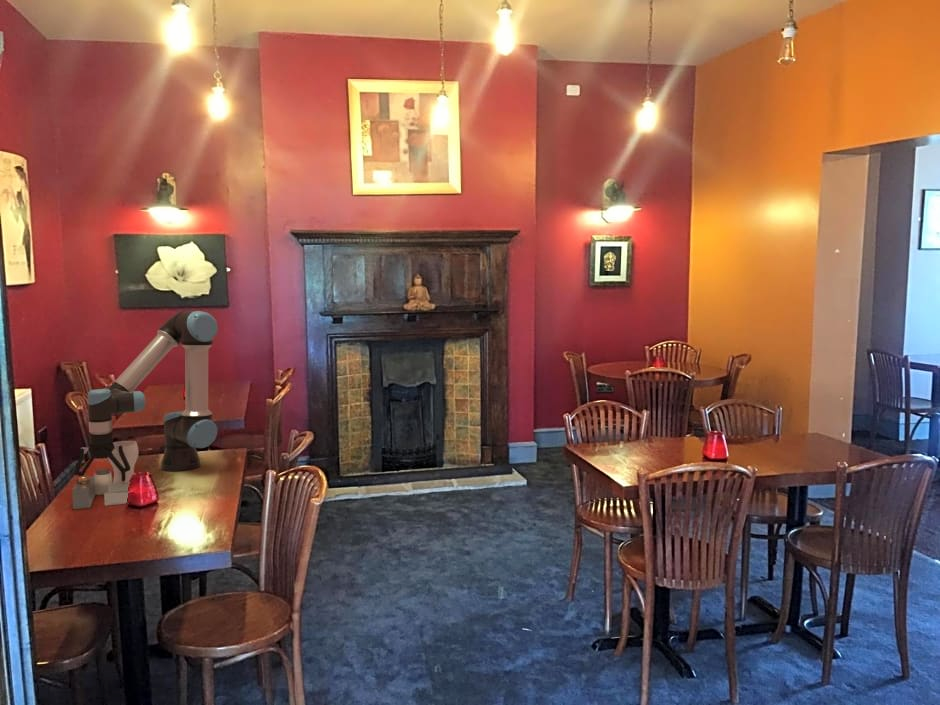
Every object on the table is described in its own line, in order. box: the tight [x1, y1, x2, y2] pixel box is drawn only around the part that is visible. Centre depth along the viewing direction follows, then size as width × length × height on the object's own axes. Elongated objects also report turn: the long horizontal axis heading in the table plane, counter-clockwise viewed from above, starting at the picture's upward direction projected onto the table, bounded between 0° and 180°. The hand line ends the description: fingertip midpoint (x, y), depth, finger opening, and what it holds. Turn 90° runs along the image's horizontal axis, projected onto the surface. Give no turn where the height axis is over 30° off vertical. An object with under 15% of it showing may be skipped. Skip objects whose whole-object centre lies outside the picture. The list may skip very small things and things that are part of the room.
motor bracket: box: [71, 475, 130, 510], centre depth 259 cm, size 18×16×9 cm
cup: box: [107, 440, 139, 483], centre depth 282 cm, size 11×11×15 cm
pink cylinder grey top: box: [93, 468, 113, 496], centre depth 269 cm, size 6×6×8 cm
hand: (103, 491), depth 269 cm, fingers open, 11 cm apart
